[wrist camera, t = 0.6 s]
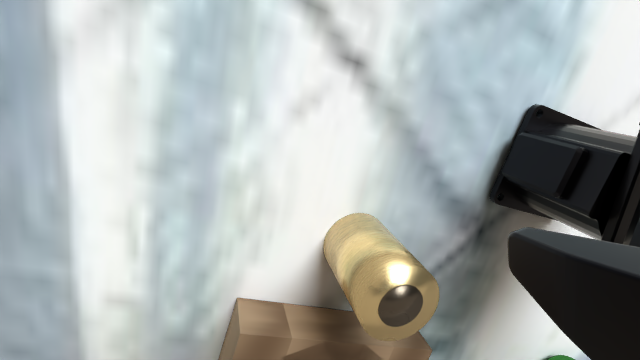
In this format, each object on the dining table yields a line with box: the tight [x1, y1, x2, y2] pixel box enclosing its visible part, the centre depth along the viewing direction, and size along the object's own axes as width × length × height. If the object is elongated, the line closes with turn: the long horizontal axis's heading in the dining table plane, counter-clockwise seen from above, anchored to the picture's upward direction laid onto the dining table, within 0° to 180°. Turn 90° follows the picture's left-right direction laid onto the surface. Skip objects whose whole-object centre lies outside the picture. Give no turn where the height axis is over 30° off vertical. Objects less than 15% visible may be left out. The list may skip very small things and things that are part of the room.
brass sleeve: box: [323, 213, 439, 341], centre depth 19 cm, size 4×4×6 cm
